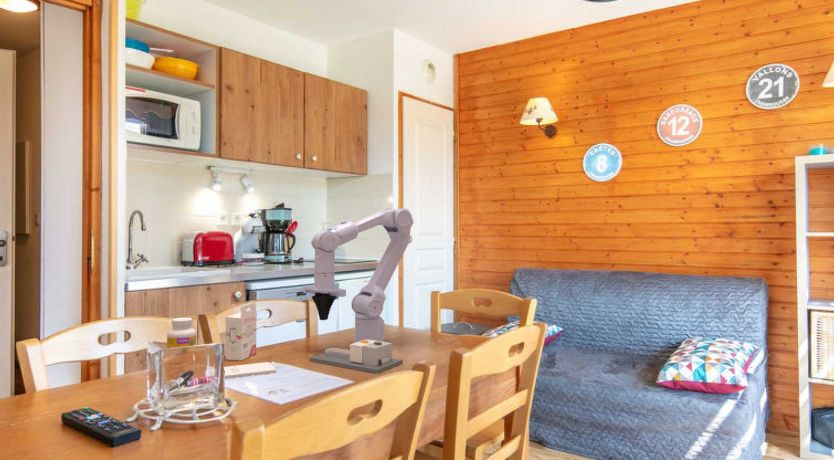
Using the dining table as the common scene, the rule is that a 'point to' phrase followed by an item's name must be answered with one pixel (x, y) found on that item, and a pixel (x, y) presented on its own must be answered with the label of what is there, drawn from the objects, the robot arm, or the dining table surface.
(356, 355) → the din module
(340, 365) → the mounting board
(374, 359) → the module
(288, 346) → the dining table surface
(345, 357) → the din rail
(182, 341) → the supplement bottle
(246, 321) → the ink cartridge box
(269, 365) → the external hard drive
